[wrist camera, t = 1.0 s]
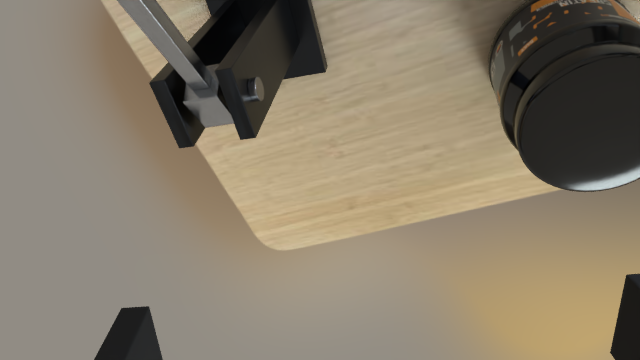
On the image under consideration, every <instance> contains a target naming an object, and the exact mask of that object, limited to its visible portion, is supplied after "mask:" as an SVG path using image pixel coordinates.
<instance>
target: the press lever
mask: <svg viewBox="0 0 640 360" xmlns="http://www.w3.org/2000/svg"><path fill="white" fill-rule="evenodd" d="M117 1H118V2H119V3H120V5H121V6H122V7H123V8H124V9H125V11H126V12H127V13H128V14H129V15H130V17H131V18H132V19H133V20H134V21H135V23H136V24H137V25H138V26H139V27H140V28H141V30H142V31H143V32H144V33H145V34H146V36H147V37H148V38H149V39H150V40H151V42H152V43H153V44H154V45H155V46H156V48H157V49H158V50H159V51H160V52H161V54H162V55H163V56H164V57H165V58H166V60H167V61H168V62H169V63H170V64H171V65H172V67H173V68H174V69H175V70H176V71H177V73H178V74H179V75H180V76H181V77H182V79H183V80H184V81H185V82H186V85H185V91H184V97H183V103H184V105H185V106H186V107H187V108H188V109H189V110H190V111H191V112H192V113H193V115H194V116H195V117H196V118H197V119H198V120H199V121H200V122H201V124H202V125H203V126H204V127H205V128H207V127H214V126H220V125H227V124H234V122H233V119H232V116H231V114H230V111H229V108H228V106H227V103H226V100H225V98H224V95H223V93H222V90H221V87H220V85H219V82H218V79H217V77H216V74H215V70H216V68H217V67H218V66H219V64H215V65H210V66H205V65H204V64H203V62H202V61H201V60H200V58H199V57H198V56H197V54H196V53H195V52H194V50H193V49H192V48H191V46H190V45H189V44H188V42H187V41H186V40H185V38H184V37H183V36H182V34H181V33H180V32H179V30H178V29H177V28H176V26H175V25H174V24H173V22H172V21H171V20H170V18H169V17H168V16H167V14H166V13H165V12H164V10H163V9H162V8H161V6H160V5H159V4H158V2H157V1H156V0H117Z"/></svg>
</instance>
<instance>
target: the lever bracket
mask: <svg viewBox="0 0 640 360" xmlns="http://www.w3.org/2000/svg"><path fill="white" fill-rule="evenodd" d="M206 2H207V5H208V8H209V11H210V13H211V17H210V18H209V19H208V21H207V22H206V23H205V24H204V25H203V26H202V27H201V28H200V29H199V30H198V31H197V32H196V33H195V34H194V36H193V37H192V38H191V39H190V40H189V41H188V44H189V45H190V46H191V48H192V49H193V50H194V52H195V53H196V54H197V56H198V57H199V58H200V60H201V61H202V62H203V64H204V65H205V66H210V65H215V64H219V66H218V67H217V68H216V70H215V74H216V77H217V79H218V82H219V85H220V87H221V90H222V93H223V95H224V98H225V100H226V103H227V106H228V108H229V111H230V114H231V116H232V119H233V122H234V124H235V127H236V129H237V132H238V135H239V137H240V140H243V139H250V138H256V136H257V134H258V132H259V130H260V127H261V125H262V123H263V121H264V119H265V117H266V115H267V112H268V110H269V108H270V106H271V104H272V102H273V99H274V97H275V95H276V93H277V91H278V89H279V87H280V84H281V82H282V80H283V79H288V78H294V77H300V76H306V75H312V74H318V73H323V72H326V69H327V62H326V58H325V54H324V50H323V46H322V42H321V38H320V34H319V30H318V26H317V22H316V18H315V14H314V10H313V6H312V2H311V0H206ZM185 85H186V82H185V81H184V80H183V79H182V77H181V76H180V75H179V74H178V73H177V71H176V70H175V69H174V68H173V67H172V65H171V64H170V63H169V62H168V63H167V64H166V66H165V67H164V68H163V69H162V70H161V71H160V72H159V73H158V74H157V75H156V76H155V77H154V78H153V79H152V80H151V82H150V86H151V88H152V90H153V92H154V94H155V96H156V99H157V101H158V103H159V105H160V107H161V110H162V112H163V114H164V116H165V118H166V120H167V123H168V125H169V127H170V129H171V131H172V133H173V135H174V138H175V140H176V142H177V144H178V146H179V148H185V147H192V146H194V145H195V143H196V142H197V140H198V139H199V137H200V136H201V134H202V132H203V131H204V129H205V127H204V126H203V125H202V124H201V122H200V121H199V120H198V119H197V118H196V117H195V116H194V115H193V113H192V112H191V111H190V110H189V109H188V108H187V107H186V106H185V105H184V103H183V97H184V91H185Z"/></svg>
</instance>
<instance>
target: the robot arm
mask: <svg viewBox="0 0 640 360" xmlns="http://www.w3.org/2000/svg"><path fill="white" fill-rule="evenodd" d="M610 353H611V354H612V356H613V357H614V359H615V360H640V274H631V275H626V279H625V284H624V289H623V294H622V298H621V303H620V308H619V313H618V318H617V323H616V327H615V332H614V337H613V342H612V347H611V352H610ZM94 360H162V355H161V351H160V347H159V344H158V340H157V336H156V332H155V328H154V324H153V320H152V316H151V313H150V309H149V307H132V308H122V309H121V310H120V312H119V314H118V316H117V318H116V320H115V322H114V324H113V325H112V327H111V329H110V331H109V333H108V335H107V337H106V339H105V340H104V342H103V344H102V346H101V348H100V350H99V351H98V353H97V355H96V357H95V359H94Z"/></svg>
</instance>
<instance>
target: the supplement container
mask: <svg viewBox="0 0 640 360" xmlns="http://www.w3.org/2000/svg"><path fill="white" fill-rule="evenodd" d="M488 70H489V77H490V81H491V84H492V87H493V89H494V92H495V95H496V98H497V102H498V105H499V108H500V118H501V123H502V126H503V129H504V132H505V134H506V136H507V138H508V139H509V141H510V142H511V144H512V145H513V146H514V147H515V148H516V149H517V150H518V151H519V154H520V156H521V158H522V160H523V162H524V164H525V165H526V167H527V168H528V169H529V170H530V171H531V172H532V173H533V174H534V175H535V176H536V177H538V178H539V179H541V180H542V181H544V182H546V183H548V184H550V185H552V186H555V187H558V188H561V189H565V190H570V191H579V192H594V191H602V190H608V189H613V188H617V187H620V186H623V185H626V184H629V183H631V182H634V181H636V180H638V179H640V23H639V22H638V21H637V20H636V19H635V18H634V17H633V16H632V15H631V14H630V12H629V11H628V10H627V9H626V8H625V6H624V5H622V4H621V3H620V2H619V1H618V0H529V1H528V2H526V3H525V4H523V5H522V6H521V7H519V8H518V9H517V10H516V11H515V12H513V13H512V14H511V15H510V16H509V18H508V19H507V20H506V21H505V22H504V24H503V25H502V26H501V28H500V29H499V31H498V33H497V35H496V36H495V38H494V41H493V43H492V46H491V50H490V54H489V61H488Z"/></svg>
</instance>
